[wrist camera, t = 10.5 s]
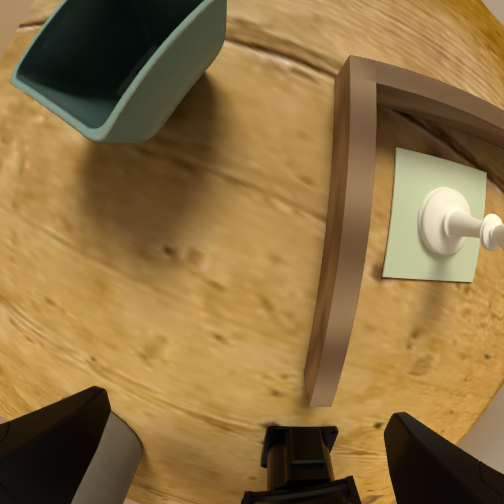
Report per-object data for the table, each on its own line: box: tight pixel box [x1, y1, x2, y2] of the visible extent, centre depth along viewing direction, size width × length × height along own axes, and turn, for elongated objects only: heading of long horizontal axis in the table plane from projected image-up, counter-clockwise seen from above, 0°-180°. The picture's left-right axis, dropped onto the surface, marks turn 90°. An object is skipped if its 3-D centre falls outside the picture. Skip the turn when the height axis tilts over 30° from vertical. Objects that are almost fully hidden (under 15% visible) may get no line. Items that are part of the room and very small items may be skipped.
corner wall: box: [304, 55, 504, 407], centre depth 16 cm, size 22×22×4 cm
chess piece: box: [418, 187, 504, 255], centre depth 13 cm, size 5×5×10 cm
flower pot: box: [10, 0, 227, 143], centre depth 13 cm, size 9×9×9 cm
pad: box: [382, 147, 487, 282], centre depth 18 cm, size 9×9×1 cm
